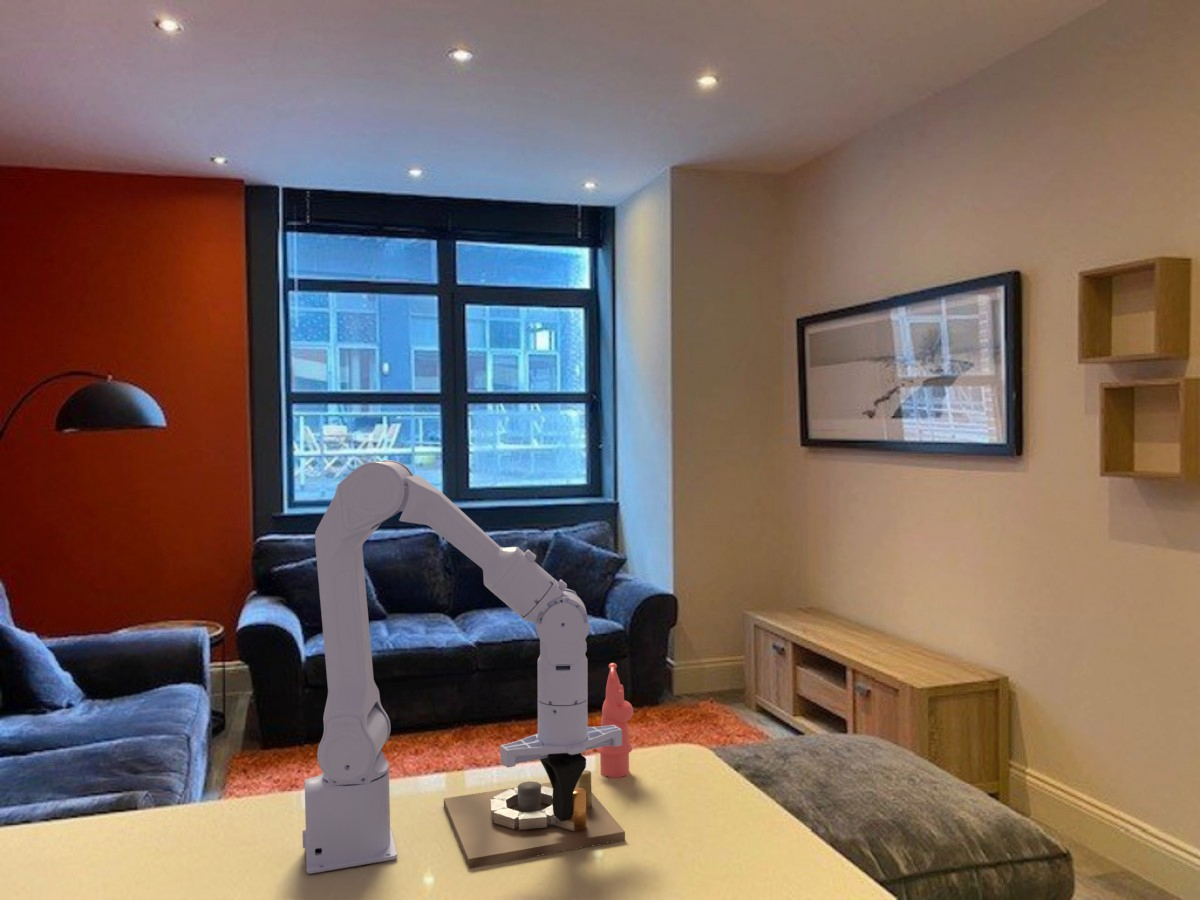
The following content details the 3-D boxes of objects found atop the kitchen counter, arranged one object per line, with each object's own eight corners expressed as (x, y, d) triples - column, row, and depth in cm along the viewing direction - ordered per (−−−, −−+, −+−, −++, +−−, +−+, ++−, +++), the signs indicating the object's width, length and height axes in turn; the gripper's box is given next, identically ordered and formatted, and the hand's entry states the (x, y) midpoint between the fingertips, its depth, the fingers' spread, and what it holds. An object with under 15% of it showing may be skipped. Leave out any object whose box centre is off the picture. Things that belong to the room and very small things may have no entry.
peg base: (468, 868, 94) (467, 822, 94) (443, 806, 110) (442, 766, 110) (625, 840, 100) (624, 796, 100) (579, 785, 116) (579, 747, 116)
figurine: (634, 779, 118) (632, 668, 117) (596, 779, 118) (594, 669, 117) (633, 765, 123) (632, 658, 122) (597, 765, 123) (595, 659, 123)
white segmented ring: (475, 816, 104) (474, 782, 104) (525, 790, 111) (525, 759, 111) (559, 844, 96) (558, 808, 96) (607, 814, 104) (606, 780, 104)
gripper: (517, 718, 93) (518, 845, 93) (635, 698, 99) (635, 817, 100) (493, 700, 99) (493, 820, 99) (605, 683, 106) (605, 795, 106)
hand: (563, 817), depth 100 cm, fingers closed, pressing on white segmented ring
